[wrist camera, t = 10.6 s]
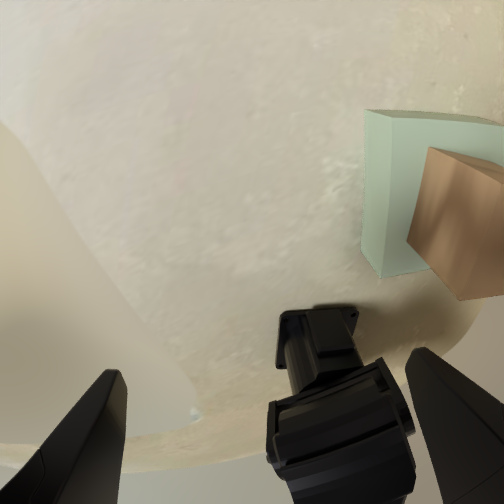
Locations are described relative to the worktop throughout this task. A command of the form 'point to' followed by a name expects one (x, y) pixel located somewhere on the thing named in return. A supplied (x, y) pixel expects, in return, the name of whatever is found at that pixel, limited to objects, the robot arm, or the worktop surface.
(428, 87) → the worktop surface
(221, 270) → the worktop surface
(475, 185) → the walnut cube
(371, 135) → the sage box
